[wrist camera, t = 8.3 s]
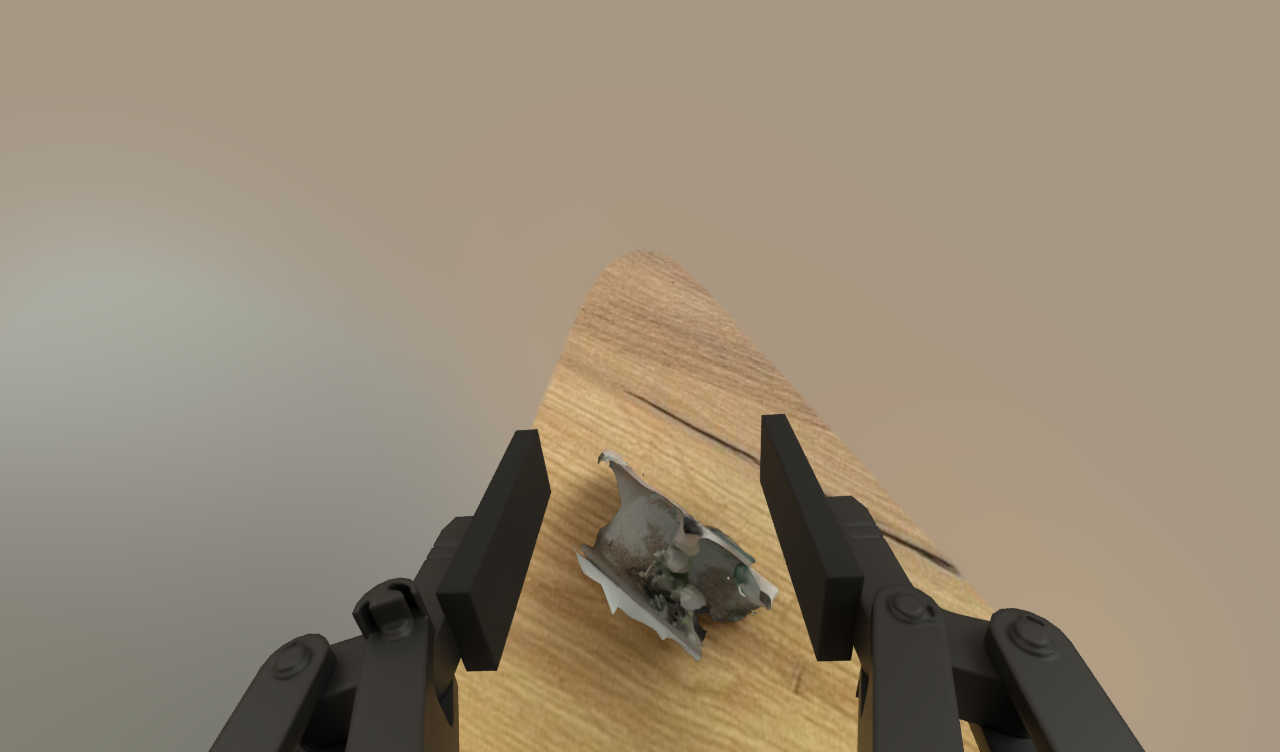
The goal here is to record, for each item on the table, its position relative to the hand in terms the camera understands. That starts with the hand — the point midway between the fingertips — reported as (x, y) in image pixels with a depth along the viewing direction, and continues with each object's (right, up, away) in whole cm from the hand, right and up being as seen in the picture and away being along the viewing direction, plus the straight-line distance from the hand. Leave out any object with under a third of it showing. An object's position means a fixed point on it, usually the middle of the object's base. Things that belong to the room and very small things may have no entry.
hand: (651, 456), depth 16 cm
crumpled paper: (0, -4, +2) cm, 5 cm away
